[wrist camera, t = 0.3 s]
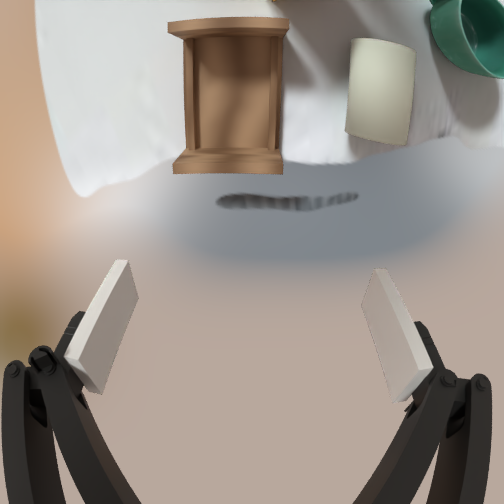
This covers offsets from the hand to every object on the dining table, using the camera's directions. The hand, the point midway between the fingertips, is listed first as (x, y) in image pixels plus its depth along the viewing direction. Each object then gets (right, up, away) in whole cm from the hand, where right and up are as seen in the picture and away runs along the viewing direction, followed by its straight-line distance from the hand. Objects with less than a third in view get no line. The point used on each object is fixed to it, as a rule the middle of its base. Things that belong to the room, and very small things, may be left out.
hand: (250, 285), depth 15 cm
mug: (+28, +35, +9) cm, 45 cm away
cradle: (-2, +22, +17) cm, 28 cm away
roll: (+16, +23, +16) cm, 32 cm away
